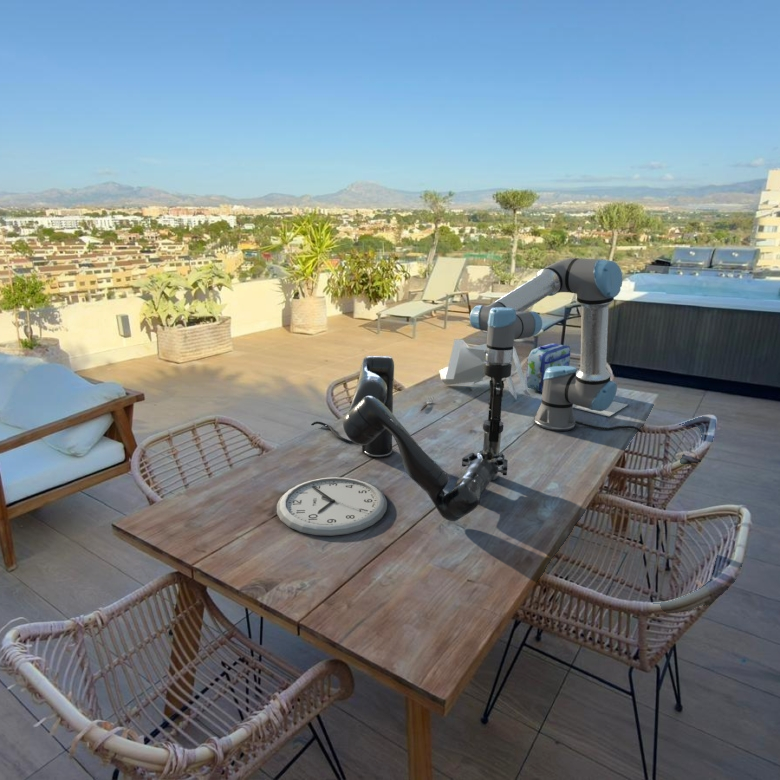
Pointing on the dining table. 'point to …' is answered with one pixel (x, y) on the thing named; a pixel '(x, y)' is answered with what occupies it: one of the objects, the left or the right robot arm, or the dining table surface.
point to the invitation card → (609, 411)
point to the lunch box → (545, 363)
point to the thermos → (491, 449)
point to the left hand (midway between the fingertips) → (492, 454)
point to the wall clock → (331, 506)
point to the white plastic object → (474, 366)
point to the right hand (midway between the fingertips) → (492, 435)
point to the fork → (427, 403)
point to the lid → (487, 426)
